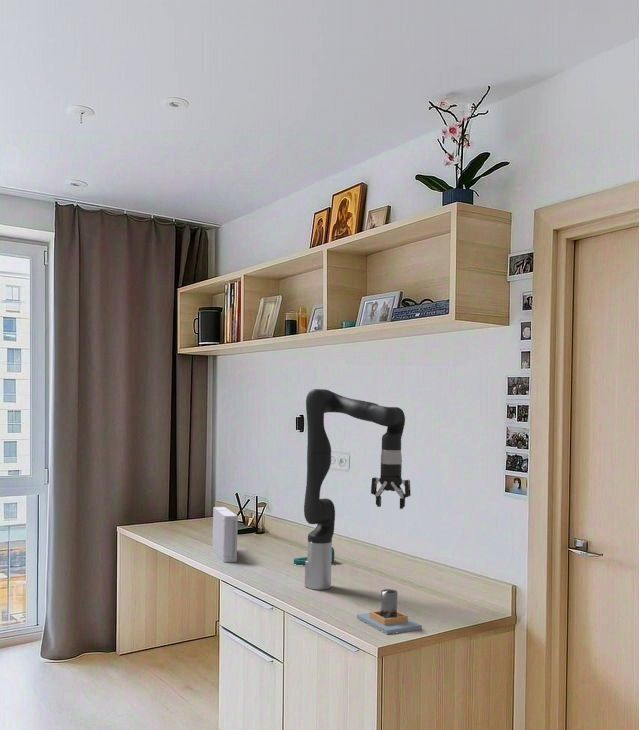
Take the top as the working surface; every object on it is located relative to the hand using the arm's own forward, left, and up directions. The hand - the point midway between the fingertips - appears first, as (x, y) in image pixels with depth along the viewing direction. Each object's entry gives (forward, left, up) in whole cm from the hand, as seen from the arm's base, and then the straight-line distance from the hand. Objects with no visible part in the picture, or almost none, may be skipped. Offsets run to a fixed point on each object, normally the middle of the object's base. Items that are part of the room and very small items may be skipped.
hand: (390, 507), depth 262 cm
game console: (-91, +33, -33) cm, 102 cm away
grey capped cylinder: (+9, -25, -32) cm, 41 cm away
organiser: (+9, -25, -33) cm, 42 cm away
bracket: (-50, +40, -34) cm, 72 cm away
